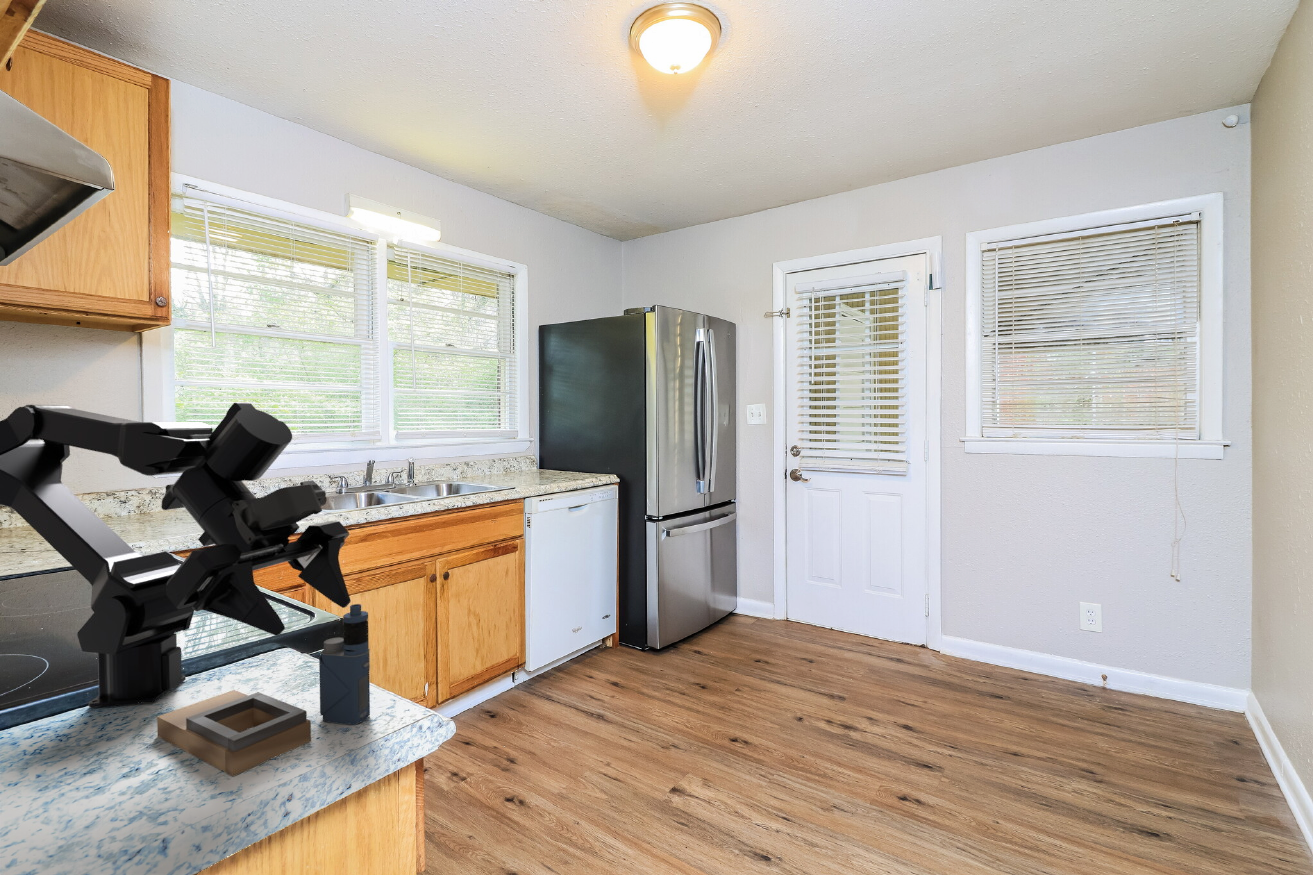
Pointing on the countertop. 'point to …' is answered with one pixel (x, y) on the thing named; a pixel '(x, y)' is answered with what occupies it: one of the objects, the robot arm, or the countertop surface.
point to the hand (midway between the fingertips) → (316, 617)
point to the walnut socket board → (236, 730)
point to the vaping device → (346, 672)
